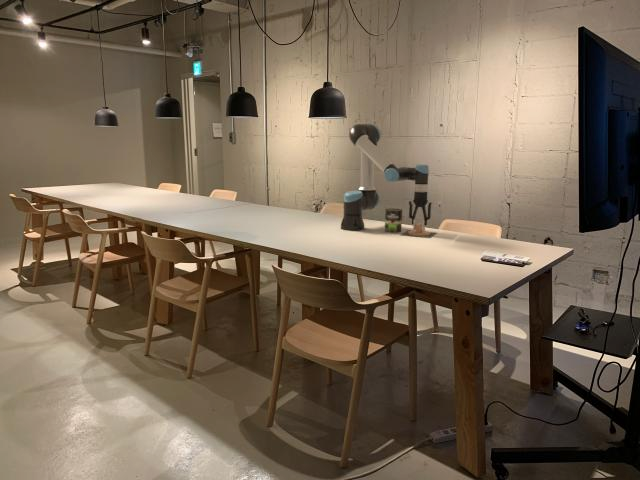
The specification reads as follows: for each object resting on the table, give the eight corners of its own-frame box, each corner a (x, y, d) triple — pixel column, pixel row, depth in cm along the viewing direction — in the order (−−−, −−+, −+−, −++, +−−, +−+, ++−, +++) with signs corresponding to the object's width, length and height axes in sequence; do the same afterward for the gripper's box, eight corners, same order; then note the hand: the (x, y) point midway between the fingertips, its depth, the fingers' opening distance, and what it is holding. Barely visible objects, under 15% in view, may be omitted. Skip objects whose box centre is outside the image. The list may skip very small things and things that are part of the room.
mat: (399, 236, 279) (399, 235, 279) (408, 230, 295) (408, 230, 295) (430, 239, 272) (430, 238, 272) (437, 233, 288) (437, 232, 288)
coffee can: (400, 234, 284) (401, 211, 281) (383, 233, 287) (384, 210, 284) (402, 231, 294) (403, 208, 291) (385, 230, 296) (386, 208, 293)
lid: (405, 235, 280) (405, 225, 279) (411, 231, 292) (411, 221, 291) (427, 237, 275) (427, 226, 274) (432, 233, 286) (432, 223, 285)
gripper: (404, 191, 279) (402, 230, 284) (434, 192, 271) (432, 232, 276) (407, 189, 285) (406, 228, 290) (437, 191, 278) (435, 230, 282)
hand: (419, 230), depth 283 cm, fingers open, 5 cm apart
